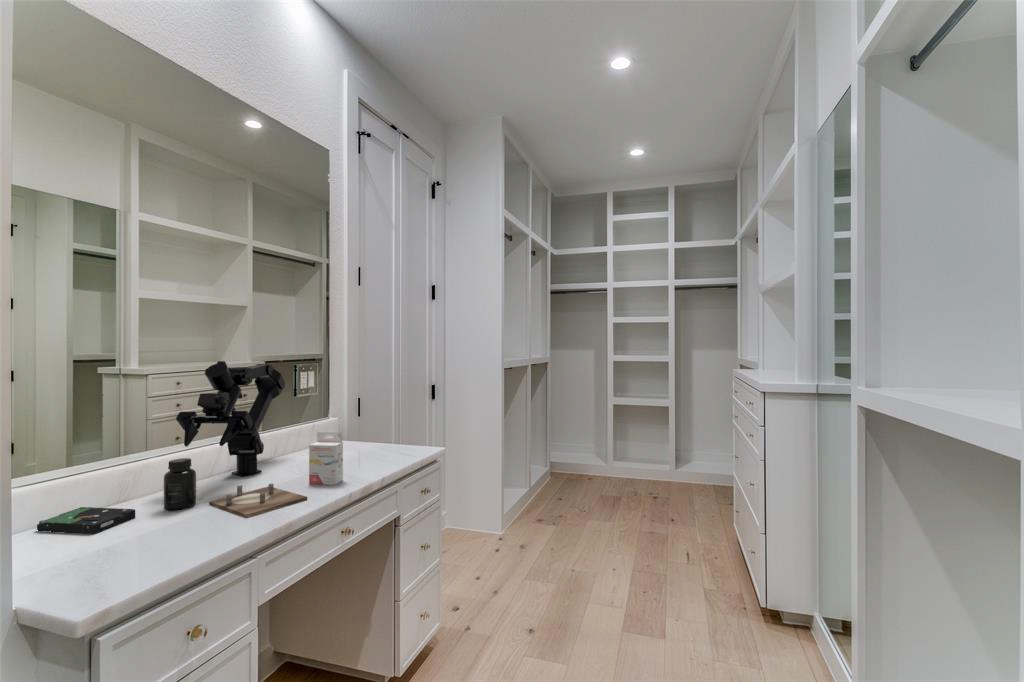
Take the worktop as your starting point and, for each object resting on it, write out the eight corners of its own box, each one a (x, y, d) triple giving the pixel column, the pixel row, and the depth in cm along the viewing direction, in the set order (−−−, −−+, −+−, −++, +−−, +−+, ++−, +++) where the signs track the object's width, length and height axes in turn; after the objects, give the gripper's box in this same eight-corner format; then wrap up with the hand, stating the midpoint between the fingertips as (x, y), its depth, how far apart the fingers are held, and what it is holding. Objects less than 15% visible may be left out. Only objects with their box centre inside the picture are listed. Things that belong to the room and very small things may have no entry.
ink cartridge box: (308, 484, 144) (307, 434, 144) (316, 479, 149) (316, 431, 149) (336, 485, 143) (335, 434, 143) (343, 480, 148) (343, 431, 148)
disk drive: (136, 520, 117) (81, 517, 119) (136, 508, 117) (81, 506, 119) (95, 537, 107) (35, 534, 108) (95, 524, 107) (35, 521, 108)
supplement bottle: (202, 504, 126) (202, 458, 126) (176, 513, 120) (176, 464, 120) (183, 502, 128) (183, 456, 128) (156, 510, 122) (156, 462, 122)
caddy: (209, 504, 126) (209, 491, 126) (269, 489, 139) (268, 477, 139) (246, 517, 116) (246, 503, 116) (307, 499, 129) (307, 487, 129)
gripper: (180, 382, 138) (153, 428, 127) (248, 382, 139) (227, 426, 128) (196, 407, 146) (172, 452, 134) (260, 407, 147) (242, 451, 135)
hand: (203, 445), depth 133 cm, fingers open, 9 cm apart
